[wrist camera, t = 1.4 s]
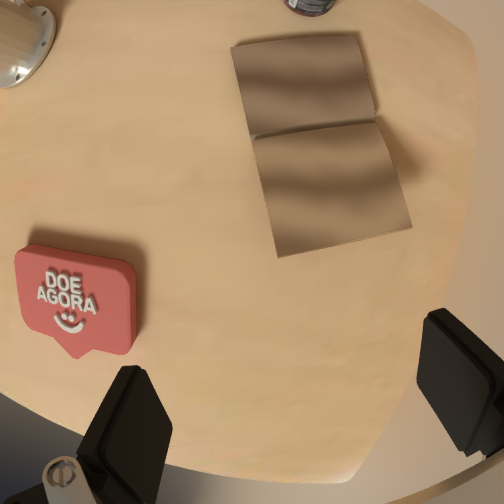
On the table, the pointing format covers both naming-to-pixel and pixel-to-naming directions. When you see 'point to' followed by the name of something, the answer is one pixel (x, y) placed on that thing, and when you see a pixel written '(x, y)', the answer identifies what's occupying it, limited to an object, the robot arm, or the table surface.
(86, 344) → the plaque
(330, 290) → the table surface
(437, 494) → the robot arm
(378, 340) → the table surface
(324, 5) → the supplement bottle
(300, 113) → the brown wooden board
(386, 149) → the plank
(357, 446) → the table surface
